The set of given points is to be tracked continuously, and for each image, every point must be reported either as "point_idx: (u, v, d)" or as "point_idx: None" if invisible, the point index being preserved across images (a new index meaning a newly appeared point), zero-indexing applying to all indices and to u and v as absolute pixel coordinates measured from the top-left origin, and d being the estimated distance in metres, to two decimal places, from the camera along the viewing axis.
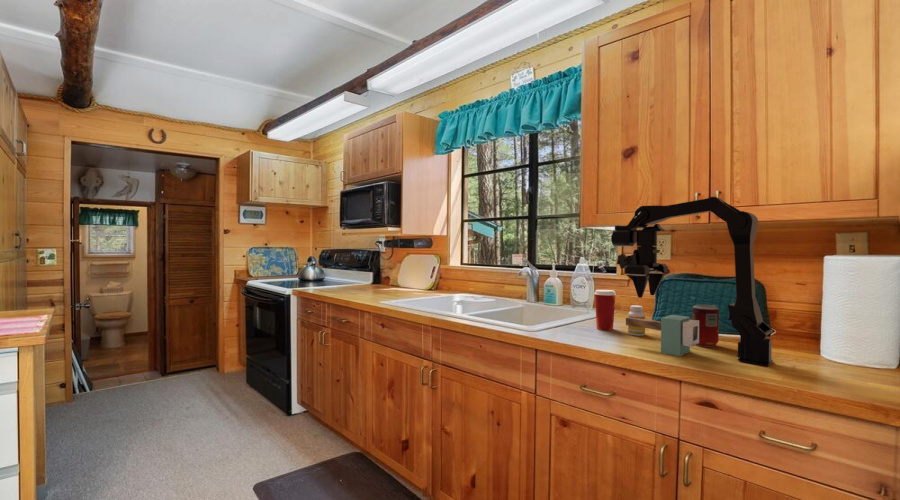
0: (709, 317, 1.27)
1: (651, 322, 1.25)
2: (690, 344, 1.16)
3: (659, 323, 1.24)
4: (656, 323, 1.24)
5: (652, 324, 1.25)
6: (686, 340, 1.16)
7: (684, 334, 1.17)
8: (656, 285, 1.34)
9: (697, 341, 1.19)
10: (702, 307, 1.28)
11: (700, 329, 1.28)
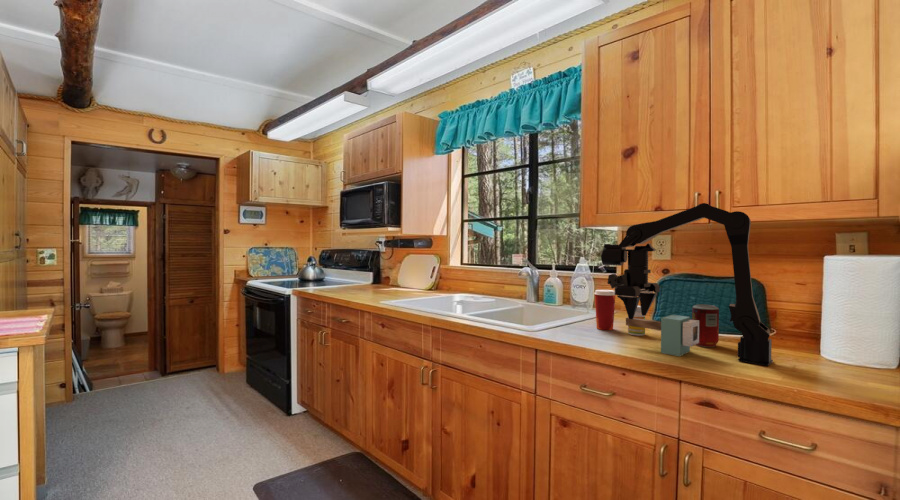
0: (709, 317, 1.27)
1: (651, 322, 1.25)
2: (690, 344, 1.16)
3: (659, 323, 1.24)
4: (656, 323, 1.24)
5: (652, 324, 1.25)
6: (686, 340, 1.16)
7: (684, 334, 1.17)
8: (648, 305, 1.31)
9: (697, 341, 1.19)
10: (702, 307, 1.28)
11: (700, 329, 1.28)
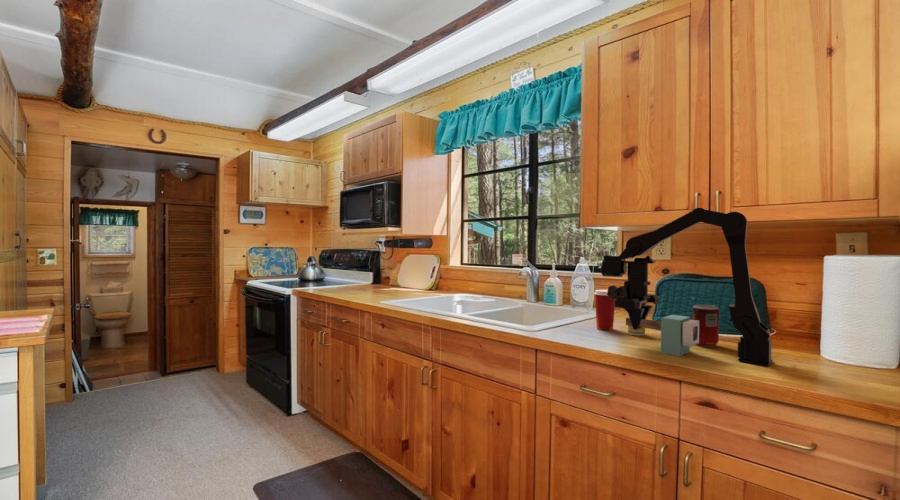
0: (709, 317, 1.27)
1: (651, 322, 1.25)
2: (690, 344, 1.16)
3: (659, 323, 1.24)
4: (656, 323, 1.24)
5: (652, 324, 1.25)
6: (686, 340, 1.16)
7: (684, 334, 1.17)
8: (643, 318, 1.29)
9: (697, 341, 1.19)
10: (702, 307, 1.28)
11: (700, 329, 1.28)
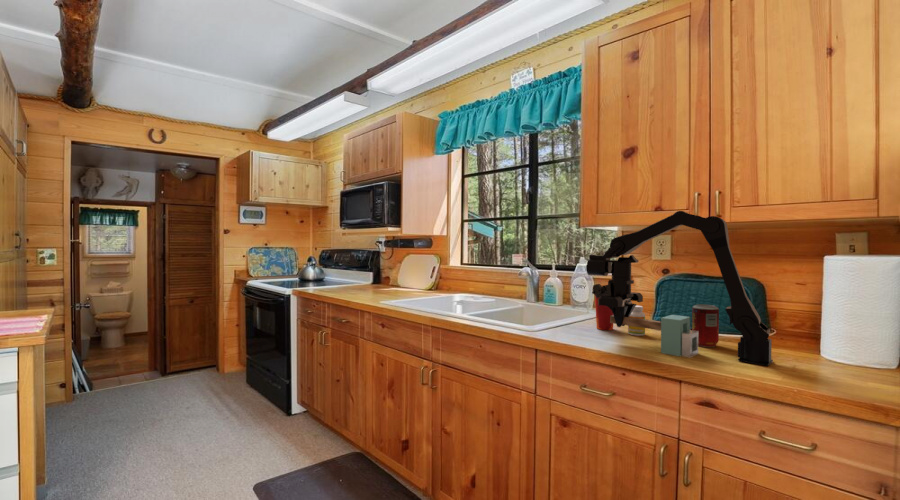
0: (709, 317, 1.27)
1: (634, 320, 1.29)
2: (689, 355, 1.16)
3: (641, 321, 1.27)
4: (639, 321, 1.28)
5: (634, 322, 1.29)
6: (685, 351, 1.17)
7: (683, 345, 1.17)
8: (626, 316, 1.33)
9: (696, 352, 1.19)
10: (702, 307, 1.28)
11: (700, 329, 1.28)
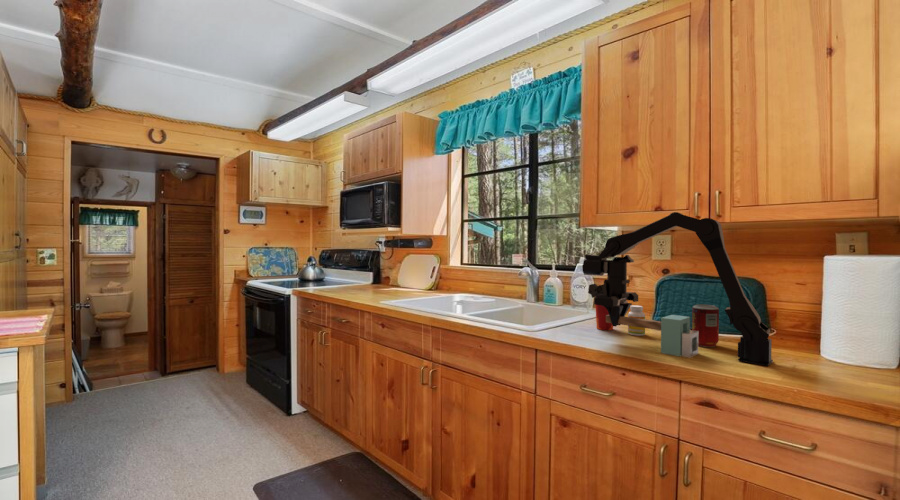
0: (709, 317, 1.27)
1: (629, 319, 1.30)
2: (689, 355, 1.16)
3: (637, 320, 1.28)
4: (634, 320, 1.29)
5: (630, 321, 1.30)
6: (685, 351, 1.17)
7: (683, 345, 1.17)
8: (622, 315, 1.34)
9: (696, 352, 1.19)
10: (702, 307, 1.28)
11: (700, 329, 1.28)
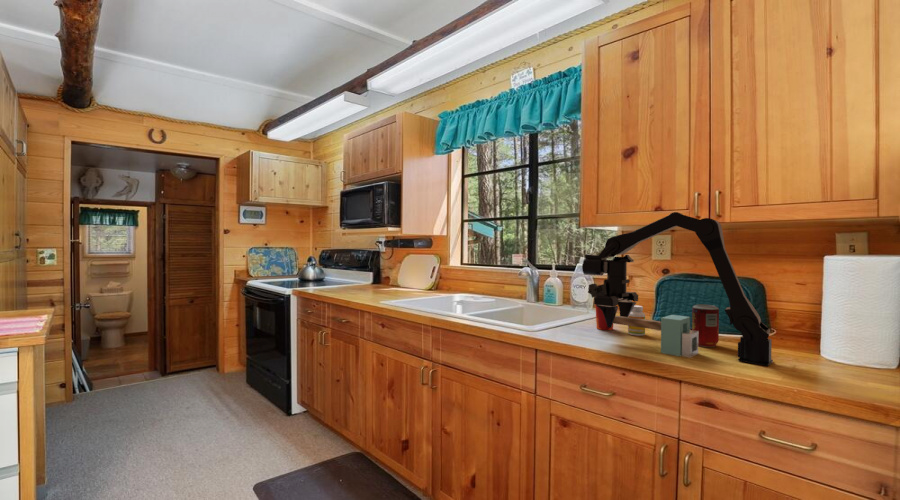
0: (709, 317, 1.27)
1: (629, 319, 1.30)
2: (689, 355, 1.16)
3: (637, 320, 1.28)
4: (634, 320, 1.29)
5: (630, 321, 1.30)
6: (685, 351, 1.17)
7: (683, 345, 1.17)
8: (626, 314, 1.36)
9: (696, 352, 1.19)
10: (702, 307, 1.28)
11: (700, 329, 1.28)
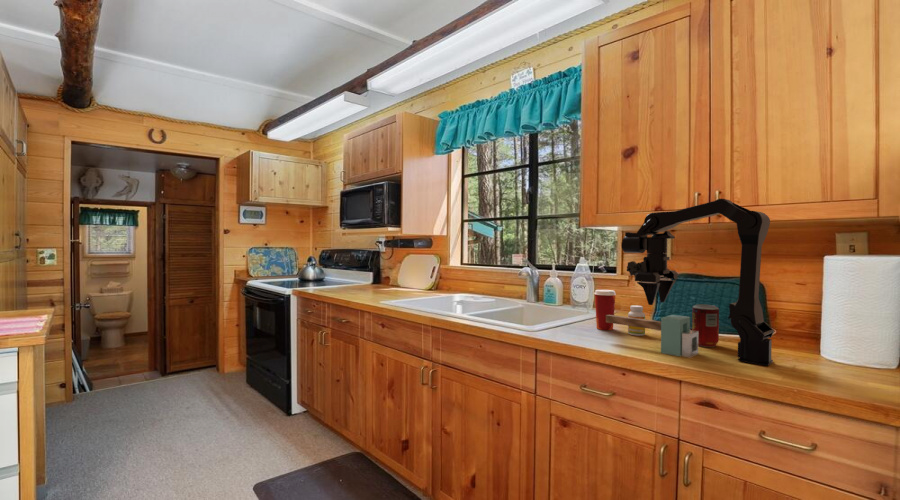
0: (709, 317, 1.27)
1: (629, 319, 1.30)
2: (689, 355, 1.16)
3: (637, 320, 1.28)
4: (634, 320, 1.29)
5: (630, 321, 1.30)
6: (685, 351, 1.17)
7: (683, 345, 1.17)
8: (666, 292, 1.34)
9: (696, 352, 1.19)
10: (702, 307, 1.28)
11: (700, 329, 1.28)
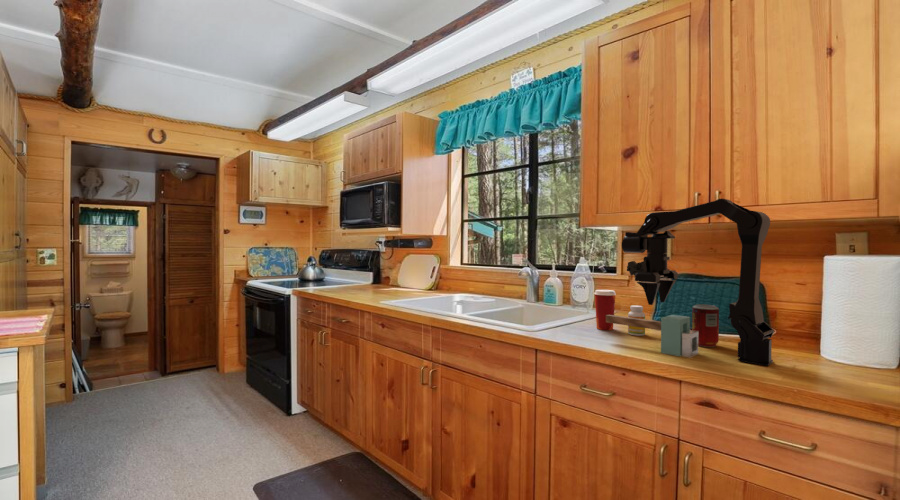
0: (709, 317, 1.27)
1: (629, 319, 1.30)
2: (689, 355, 1.16)
3: (637, 320, 1.28)
4: (634, 320, 1.29)
5: (630, 321, 1.30)
6: (685, 351, 1.17)
7: (683, 345, 1.17)
8: (666, 292, 1.34)
9: (696, 352, 1.19)
10: (702, 307, 1.28)
11: (700, 329, 1.28)
